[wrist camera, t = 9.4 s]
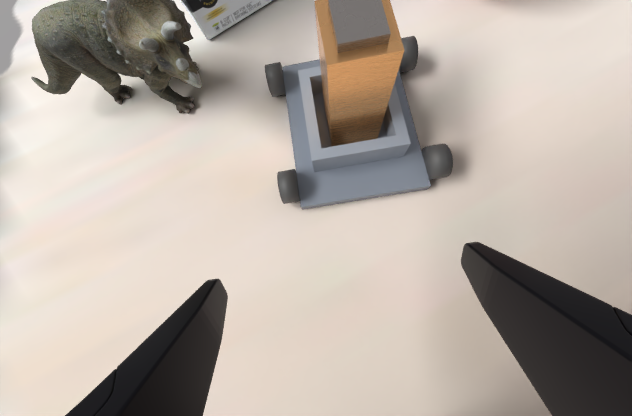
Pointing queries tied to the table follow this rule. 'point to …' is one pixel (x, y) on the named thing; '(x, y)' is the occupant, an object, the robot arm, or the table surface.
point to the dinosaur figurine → (116, 46)
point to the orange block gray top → (357, 65)
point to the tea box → (220, 13)
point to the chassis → (354, 158)
